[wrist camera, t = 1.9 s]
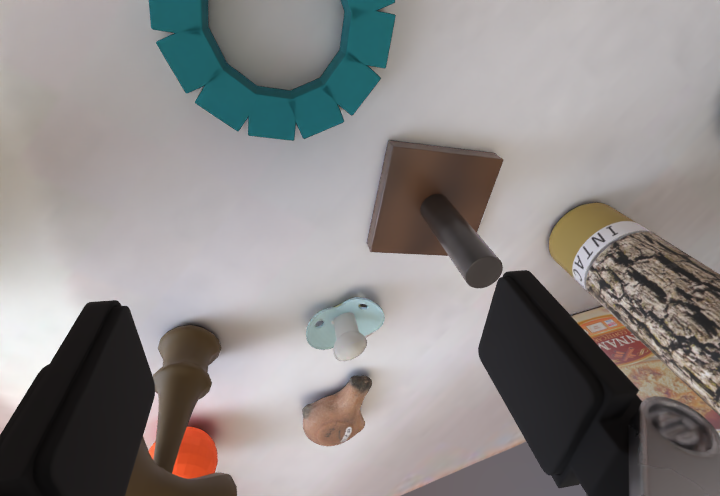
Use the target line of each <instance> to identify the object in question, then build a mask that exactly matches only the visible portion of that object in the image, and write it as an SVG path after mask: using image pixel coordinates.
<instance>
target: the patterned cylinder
mask: <svg viewBox="0 0 720 496" xmlns="http://www.w3.org/2000/svg"><path fill="white" fill-rule="evenodd" d="M549 251H550V254H551V256H552V257H553V259H554V260H555V261H556V262H557V263H558V264H559V265H560V266H561V267H562V268H563V269H565V270H566V271H567V272H568V273H569V274H570V275H571V276H572V277H573V278H574V279H575V280H576V281H577V282H578V283H579V284H580V285H581V286H582V287H583V288H584V289H585V290H586V291H588V292H589V293H590V294H591V295H592V296H593V297H594V298H595V299H596V300H597V301H598V302H599V303H600V304H601V305H602V306H603V307H605V308H606V309H607V310H608V311H609V312H610V313H611V314H612V315H613V316H614V317H615V318H616V319H617V320H618V321H619V322H620V323H622V324H623V325H624V326H625V327H626V328H627V329H628V330H629V331H630V332H631V333H632V334H633V335H634V336H635V337H636V338H637V339H639V340H640V341H641V342H642V343H643V344H644V345H645V346H646V347H647V348H648V349H649V350H650V351H651V352H652V353H653V354H654V355H656V356H657V357H658V358H659V359H660V360H661V361H662V362H663V363H664V364H665V365H666V366H667V367H668V368H669V369H670V370H671V371H673V372H674V373H675V374H676V375H677V376H678V377H679V378H680V379H681V380H682V381H683V382H684V383H685V384H686V385H687V386H688V387H690V388H691V389H692V390H693V391H694V392H695V393H696V394H697V395H698V396H699V397H700V398H701V399H702V400H703V401H704V402H705V403H707V404H708V405H709V406H710V407H711V408H712V409H713V410H714V411H715V412H716V413H717V414H718V415H719V416H720V274H718V273H716V272H715V271H713V270H712V269H710V268H708V267H707V266H705V265H704V264H702V263H700V262H699V261H697V260H696V259H694V258H692V257H691V256H689V255H688V254H686V253H684V252H683V251H681V250H680V249H678V248H676V247H675V246H673V245H672V244H670V243H668V242H667V241H665V240H664V239H662V238H660V237H659V236H657V235H656V234H654V233H652V232H651V231H649V230H648V229H646V228H644V227H643V226H641V225H640V224H638V223H636V222H634V221H633V220H631V219H630V218H628V217H626V216H625V215H623V214H622V213H620V212H618V211H617V210H615V209H614V208H612V207H610V206H608V205H606V204H603V203H588V204H584V205H581V206H578V207H576V208H574V209H573V210H571V211H569V212H568V213H567V214H565V215H564V216H563V217H562V218H561V219H560V220H559V221H558V223H557V224H556V225H555V227H554V229H553V230H552V233H551V235H550V239H549Z"/></svg>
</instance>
